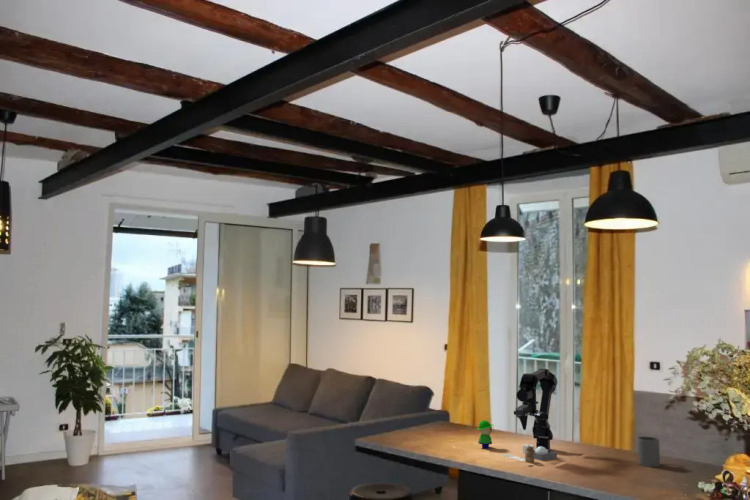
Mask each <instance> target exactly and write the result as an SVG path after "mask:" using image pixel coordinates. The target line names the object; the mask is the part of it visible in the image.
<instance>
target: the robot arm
mask: <svg viewBox="0 0 750 500" xmlns="http://www.w3.org/2000/svg"><path fill="white" fill-rule="evenodd" d="M538 385H539V387H540V388H541V390H542V391H541V398H540V399H541V400H540V407H539V409H538V408H537V404H538V405H539V401H537V389H538V388H537V387H538ZM557 385H558V378H557V377H556V375H555V374H554V373H552V372H550V369H549V368H538V369H537V370H535V371H534V372H531V373H528V372H527V373H523V374H522V376H521V378H520V382H519V386H518V387H519V390H518V391H517V393H516V398H517V400H518V401H520V402H521V403H522V404H521V405H519V406H517V407H515V408H514V410H513V415H515V417H516V418H518V420H519V422H520V423H521V427H522V429H523V431H526V430H527V426H528V425H527V424H528V416H530V417H533V418H534V421H533V425H532V429H531V430H532V437H533V439H536V441H535V443H536V444H535V445H536V447H535V449H537V448H538V447H539V446H542V447H545V448H546V449H547V450H549V451H550V449H551V445H550V444H551V440H552V441H553V439H554V435H553V432H552V430H551V425H550V423H549V418H550V417H549V415H550V407H551V401H552V395H553V393H554V392H555V391H556V389H557Z"/></svg>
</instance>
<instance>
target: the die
mask: <svg viewBox="0 0 750 500" xmlns="http://www.w3.org/2000/svg"><path fill="white" fill-rule="evenodd" d="M528 446H531V447H532V448H533V450H535V445H533V444H527V443H526V444H523V445H522V453H523V454H525V450H526V448H527V447H528Z"/></svg>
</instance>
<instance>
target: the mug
mask: <svg viewBox="0 0 750 500" xmlns="http://www.w3.org/2000/svg"><path fill="white" fill-rule="evenodd" d="M659 440H660V439H659V438H657V437H653V436H638V437H637V452H638V455H637V456H638V465H640V466H643V467H647V468H658V467H660V465H661V456H660V455H661V454H660V441H659Z"/></svg>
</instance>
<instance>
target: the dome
mask: <svg viewBox="0 0 750 500" xmlns="http://www.w3.org/2000/svg"><path fill="white" fill-rule="evenodd" d="M534 450H535V452H537V453H541V454H543V453H548V450H547V449H546V448H545V447H542V446H539V447H538V448H537V449H536V448H534Z"/></svg>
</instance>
